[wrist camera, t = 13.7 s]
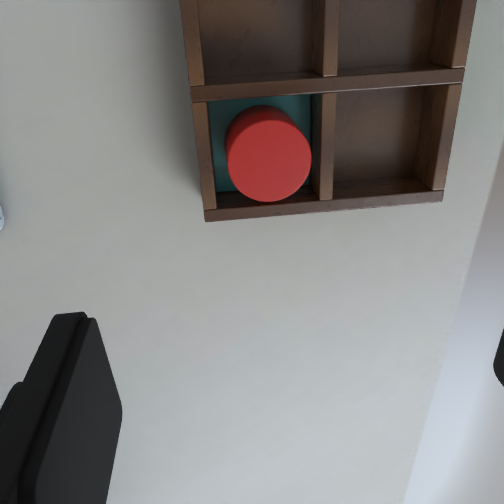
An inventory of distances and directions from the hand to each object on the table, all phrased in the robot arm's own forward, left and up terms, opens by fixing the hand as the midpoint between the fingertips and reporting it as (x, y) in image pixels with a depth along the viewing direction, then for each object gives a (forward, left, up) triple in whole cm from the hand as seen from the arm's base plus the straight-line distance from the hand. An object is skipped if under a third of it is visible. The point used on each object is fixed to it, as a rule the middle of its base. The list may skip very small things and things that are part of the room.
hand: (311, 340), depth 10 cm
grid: (-3, +4, -17) cm, 17 cm away
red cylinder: (0, +1, -16) cm, 16 cm away
